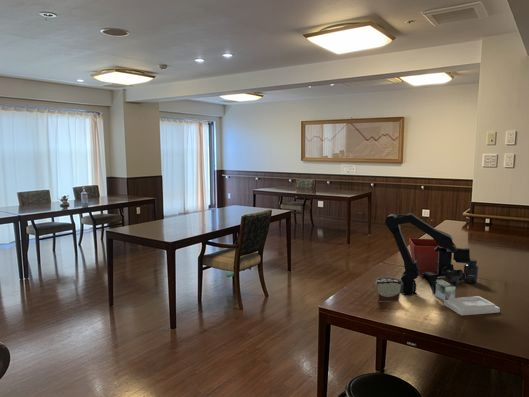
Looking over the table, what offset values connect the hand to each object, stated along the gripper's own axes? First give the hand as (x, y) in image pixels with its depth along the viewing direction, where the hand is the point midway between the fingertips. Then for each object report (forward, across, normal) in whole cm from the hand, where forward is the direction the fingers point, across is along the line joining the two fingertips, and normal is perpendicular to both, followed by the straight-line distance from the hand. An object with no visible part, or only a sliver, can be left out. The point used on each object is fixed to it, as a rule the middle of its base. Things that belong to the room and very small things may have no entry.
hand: (443, 293), depth 186 cm
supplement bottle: (+2, +27, +17) cm, 32 cm away
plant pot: (+2, +16, +38) cm, 41 cm away
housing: (+2, 0, 0) cm, 2 cm away
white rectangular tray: (+2, +4, -14) cm, 15 cm away
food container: (+2, -27, +3) cm, 27 cm away
